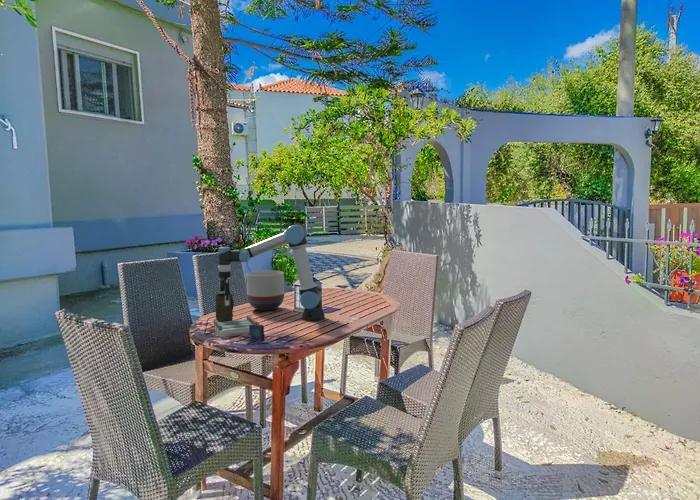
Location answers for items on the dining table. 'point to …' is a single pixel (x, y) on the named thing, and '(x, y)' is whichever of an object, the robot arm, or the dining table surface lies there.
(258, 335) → the flask
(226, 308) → the beer stein
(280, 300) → the planter
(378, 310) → the dining table surface
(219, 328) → the tray
